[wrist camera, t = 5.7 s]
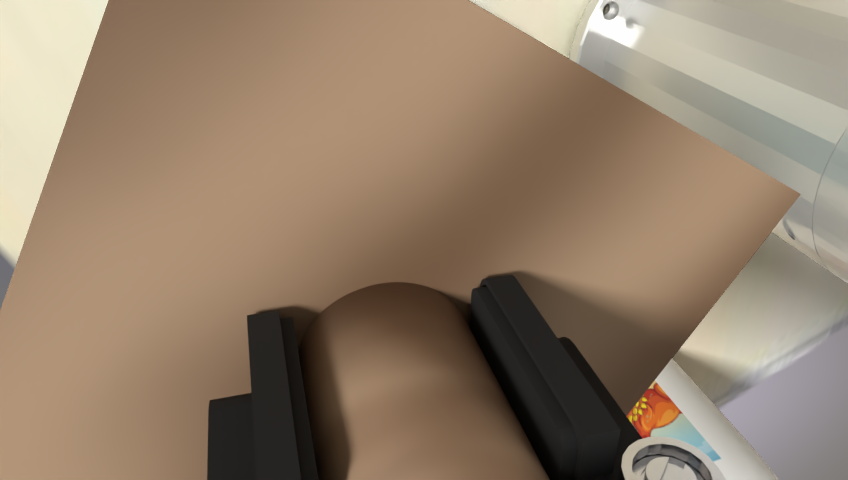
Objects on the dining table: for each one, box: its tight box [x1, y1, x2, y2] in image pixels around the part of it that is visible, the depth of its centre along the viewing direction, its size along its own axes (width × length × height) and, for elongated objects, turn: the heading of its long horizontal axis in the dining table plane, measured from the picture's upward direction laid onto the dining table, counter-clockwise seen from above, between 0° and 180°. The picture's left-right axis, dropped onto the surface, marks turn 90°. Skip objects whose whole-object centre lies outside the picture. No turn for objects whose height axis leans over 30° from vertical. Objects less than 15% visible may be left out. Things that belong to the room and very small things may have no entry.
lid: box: [0, 0, 801, 480], centre depth 11 cm, size 12×12×6 cm
